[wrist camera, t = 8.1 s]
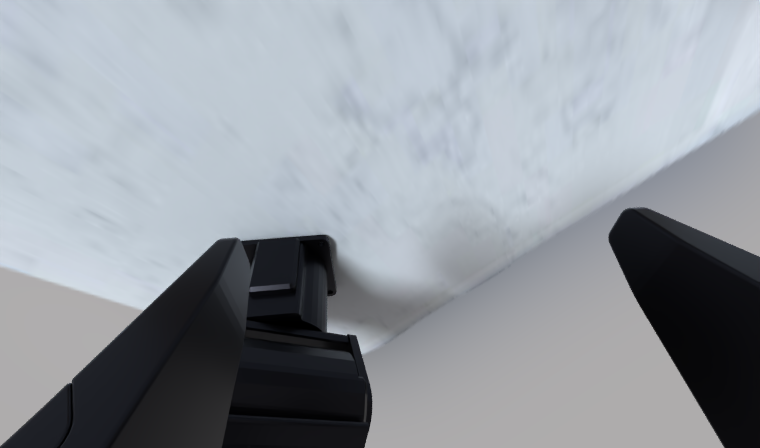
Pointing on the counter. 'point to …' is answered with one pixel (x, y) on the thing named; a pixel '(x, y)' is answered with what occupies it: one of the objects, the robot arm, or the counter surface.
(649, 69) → the counter surface
